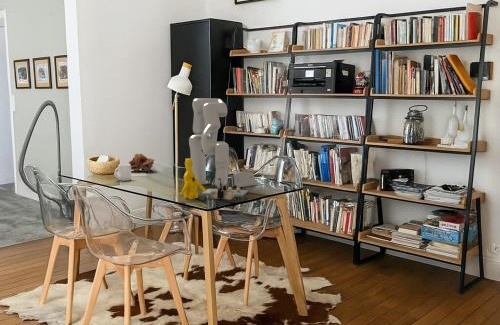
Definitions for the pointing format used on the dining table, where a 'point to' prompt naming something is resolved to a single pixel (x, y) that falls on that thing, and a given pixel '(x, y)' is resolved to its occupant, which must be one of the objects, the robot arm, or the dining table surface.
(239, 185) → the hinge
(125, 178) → the mug
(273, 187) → the dining table surface
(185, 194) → the figure statuette
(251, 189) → the dining table surface
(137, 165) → the mineral specimen
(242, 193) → the white flat slab
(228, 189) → the brass posts
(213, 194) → the oak panel
